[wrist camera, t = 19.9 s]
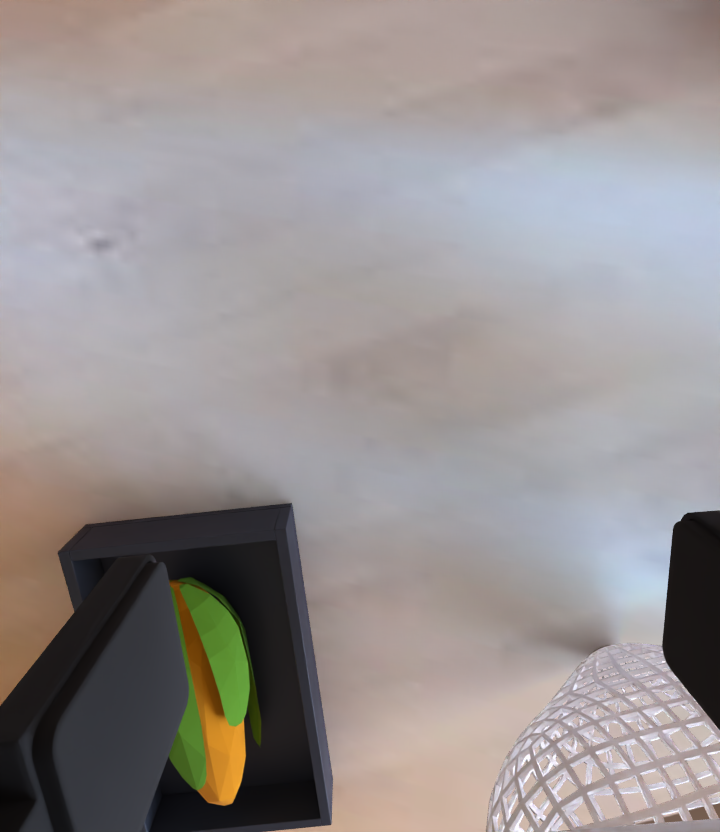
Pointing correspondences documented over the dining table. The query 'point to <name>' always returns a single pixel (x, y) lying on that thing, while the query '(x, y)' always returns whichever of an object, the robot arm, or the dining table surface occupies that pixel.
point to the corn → (213, 692)
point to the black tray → (269, 651)
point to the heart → (606, 747)
